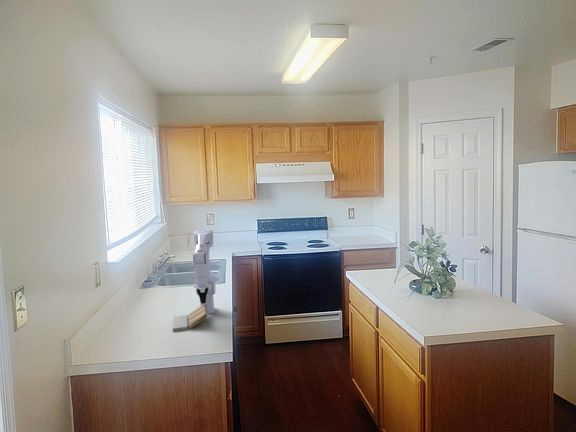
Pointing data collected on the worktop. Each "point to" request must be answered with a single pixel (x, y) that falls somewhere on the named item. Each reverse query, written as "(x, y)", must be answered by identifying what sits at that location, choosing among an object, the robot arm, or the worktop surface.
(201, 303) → the robot arm
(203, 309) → the tan flat block
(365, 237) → the worktop surface
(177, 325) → the floor board
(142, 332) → the worktop surface
